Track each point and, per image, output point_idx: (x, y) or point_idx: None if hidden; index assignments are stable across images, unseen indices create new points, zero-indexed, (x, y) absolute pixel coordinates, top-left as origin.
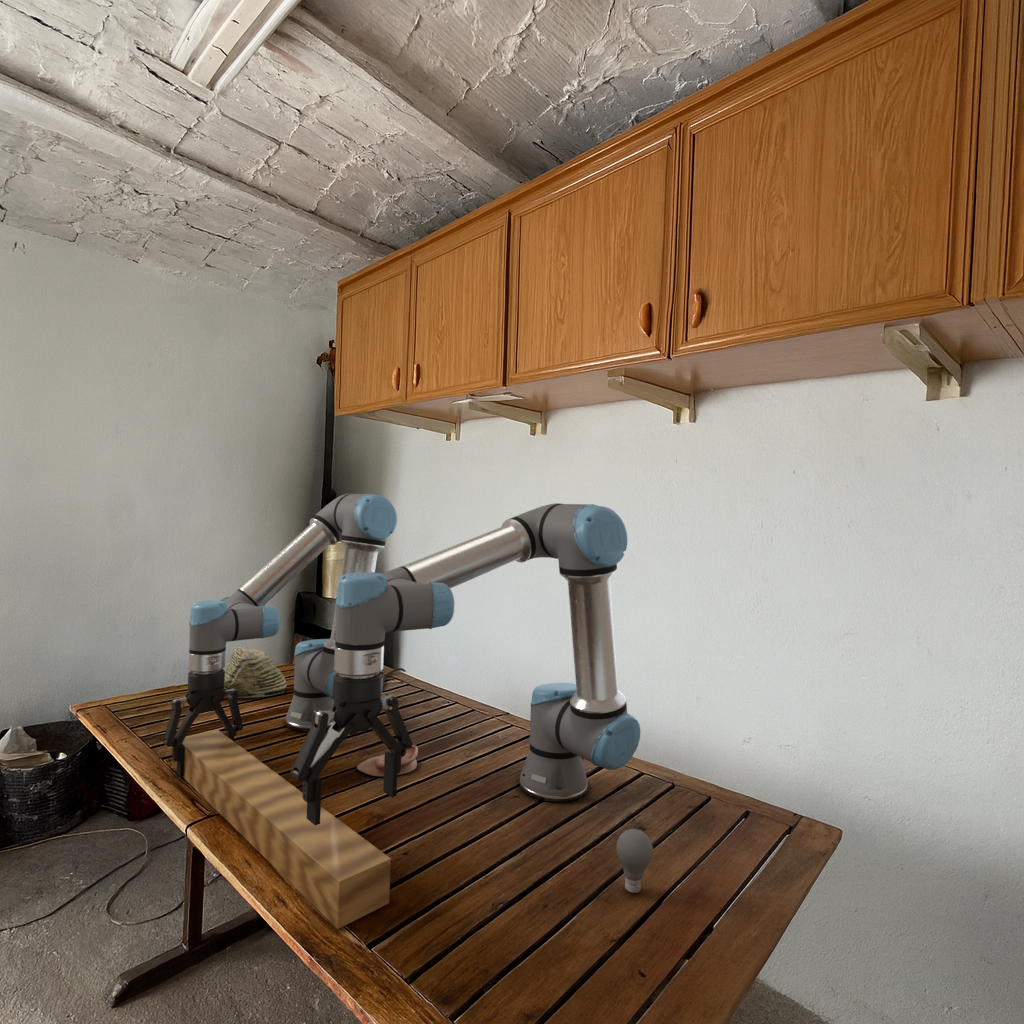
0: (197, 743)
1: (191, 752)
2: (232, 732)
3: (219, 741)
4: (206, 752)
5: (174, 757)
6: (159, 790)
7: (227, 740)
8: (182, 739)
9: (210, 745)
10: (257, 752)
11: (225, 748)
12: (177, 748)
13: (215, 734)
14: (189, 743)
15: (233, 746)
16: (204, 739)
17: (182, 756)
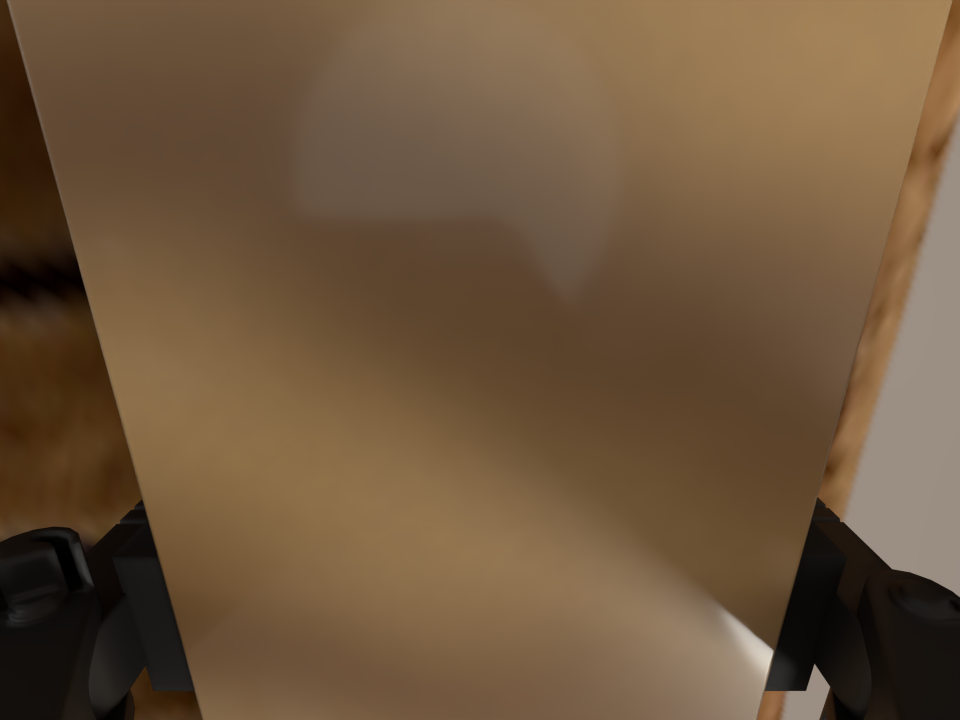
0: (619, 557)
1: (870, 276)
2: (37, 602)
3: (315, 442)
4: (710, 45)
5: (823, 504)
6: (879, 275)
7: (184, 409)
8: (919, 674)
9: (498, 365)
10: (27, 491)
11: (311, 2)
12: (860, 579)
13: (293, 704)
14: (702, 614)
15: (129, 11)
16: (478, 632)
17: None
